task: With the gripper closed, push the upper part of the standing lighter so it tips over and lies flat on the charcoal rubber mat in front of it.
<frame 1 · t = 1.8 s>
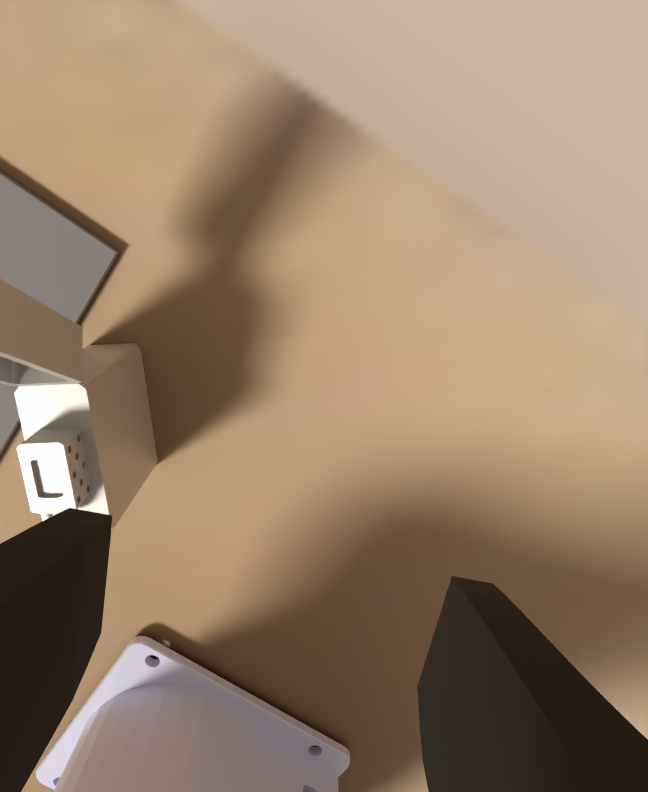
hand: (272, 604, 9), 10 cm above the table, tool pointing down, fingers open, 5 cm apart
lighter: (117, 360, 19), on the table
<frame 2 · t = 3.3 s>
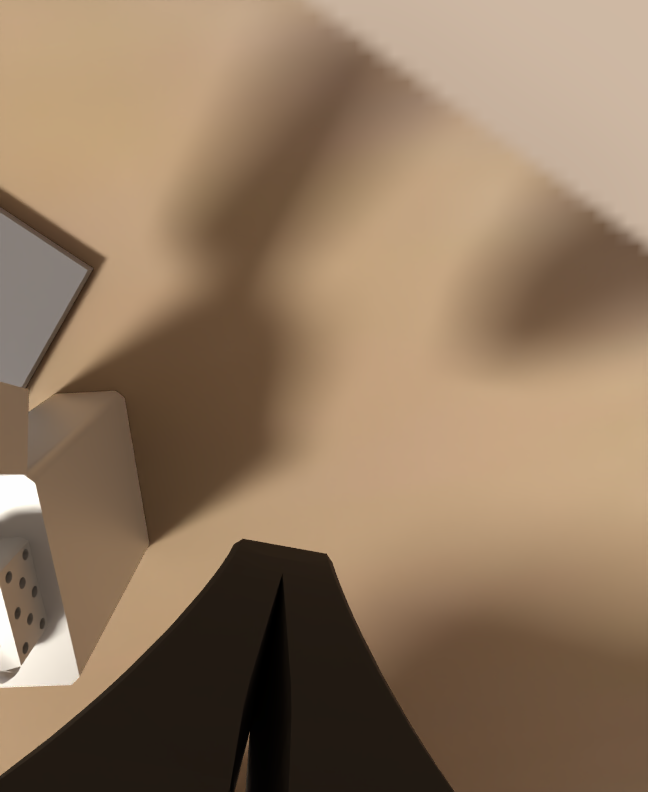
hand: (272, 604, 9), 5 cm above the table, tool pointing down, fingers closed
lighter: (93, 413, 14), on the table
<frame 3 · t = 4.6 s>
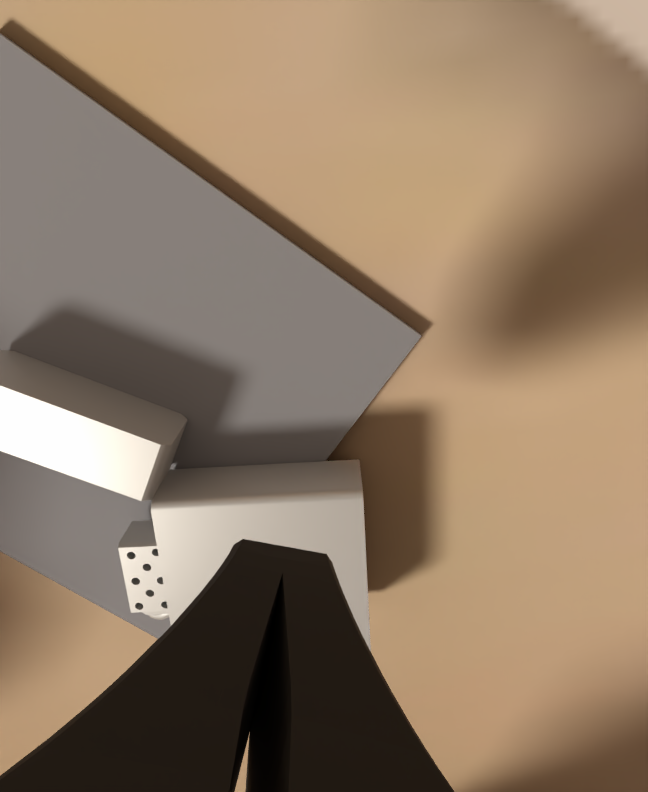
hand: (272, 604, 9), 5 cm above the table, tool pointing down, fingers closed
mat: (104, 385, 13), on the table
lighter: (371, 496, 13), point 1 cm above the table, touching mat
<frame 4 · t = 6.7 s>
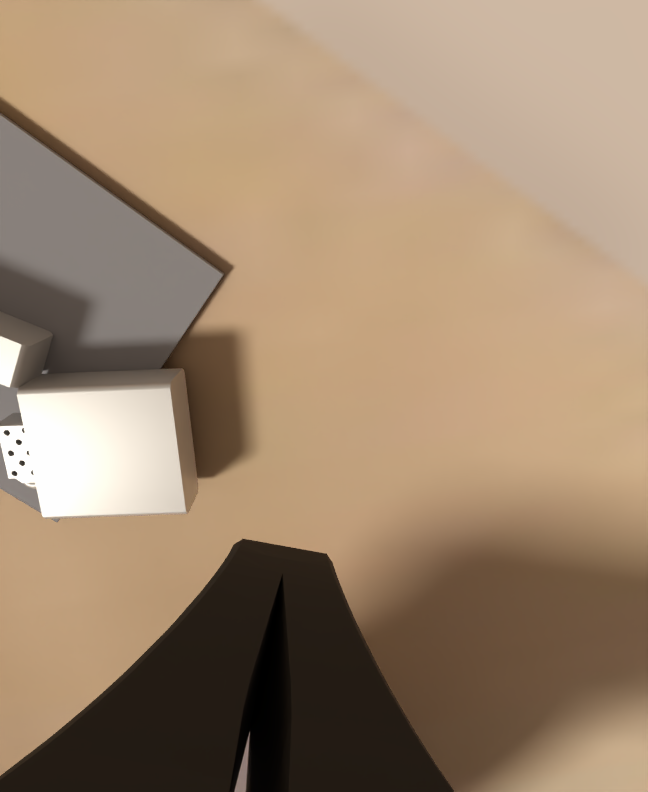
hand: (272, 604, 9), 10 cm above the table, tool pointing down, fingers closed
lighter: (186, 393, 17), point 1 cm above the table, touching mat
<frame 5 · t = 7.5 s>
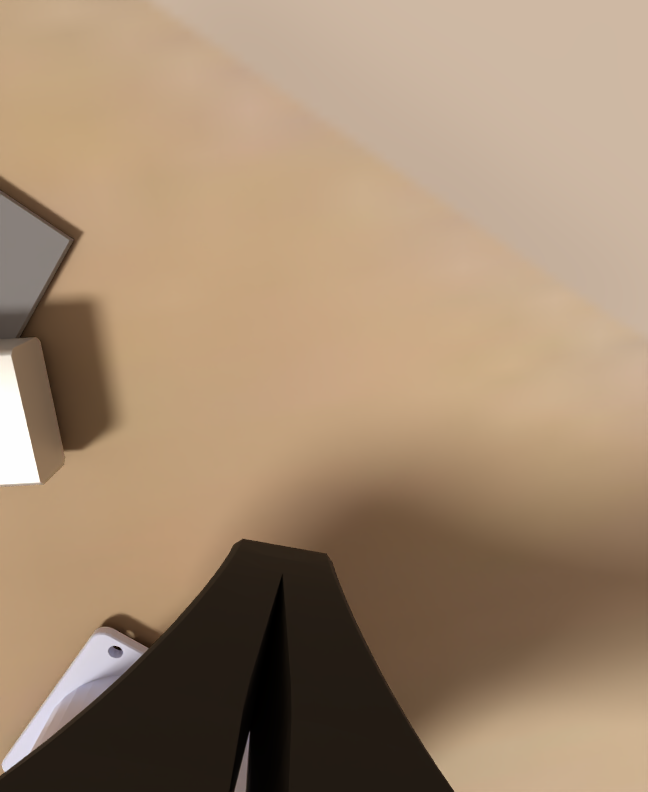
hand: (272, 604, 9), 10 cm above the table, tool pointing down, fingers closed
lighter: (36, 361, 17), point 1 cm above the table, touching mat
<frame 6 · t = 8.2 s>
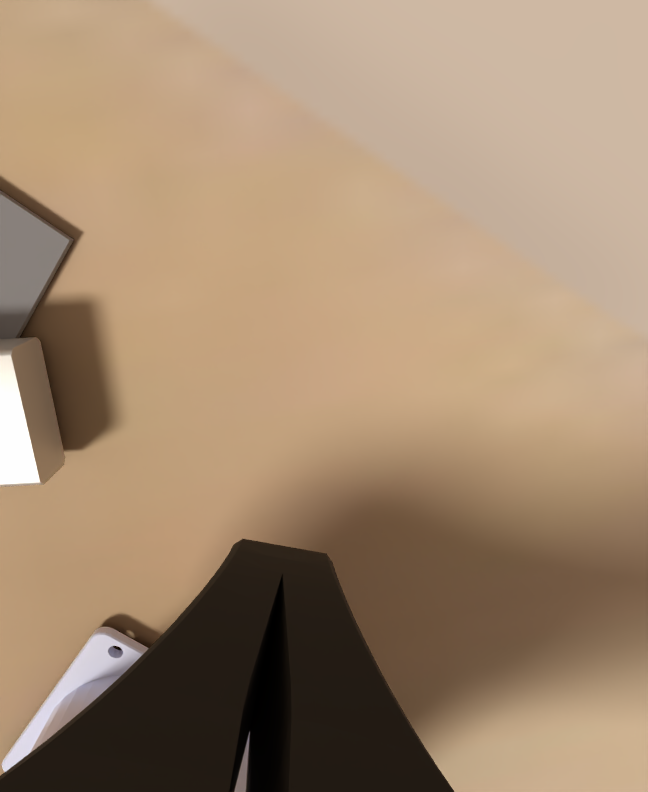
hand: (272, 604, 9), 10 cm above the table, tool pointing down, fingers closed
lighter: (36, 361, 17), point 1 cm above the table, touching mat
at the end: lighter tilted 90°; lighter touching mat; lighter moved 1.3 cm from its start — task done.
